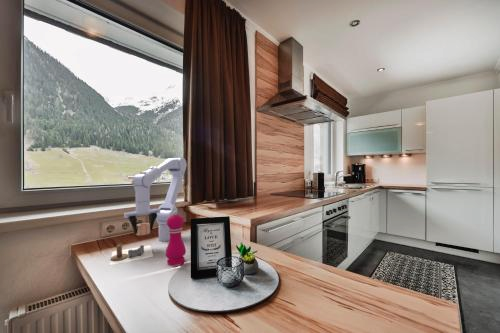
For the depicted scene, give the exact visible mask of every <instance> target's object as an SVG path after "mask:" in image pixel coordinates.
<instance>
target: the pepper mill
mask: <svg viewBox="0 0 500 333" xmlns="http://www.w3.org/2000/svg"><path fill="white" fill-rule="evenodd" d="M167 225H168V227H169V229H168V230H169V231H168V232H169V233H170V240H169V241H168V243H167V244H168V245H167V246H166V248H165V249H166V250H165V257H166V259H167V260H166V262H167V265H168V266H173V268H178V267H180V266H183V265H184V264H185V255H186V251H187V250H186V247H185V246H186V245H185V244H184V241H183V239H182V232H183V227H182V226H183V225H184V218H183V216H182V215H180V214H178V211H174V212H173V215H172V216H170V217H169V218H168V220H167Z"/></svg>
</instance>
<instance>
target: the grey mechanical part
mask: <svg viewBox="0 0 500 333" xmlns="http://www.w3.org/2000/svg"><path fill="white" fill-rule="evenodd" d="M144 246H145V245H139V247H140V248H138V249H136V250H128V258H132V257H136V256H141V255H142V253H144Z"/></svg>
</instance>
